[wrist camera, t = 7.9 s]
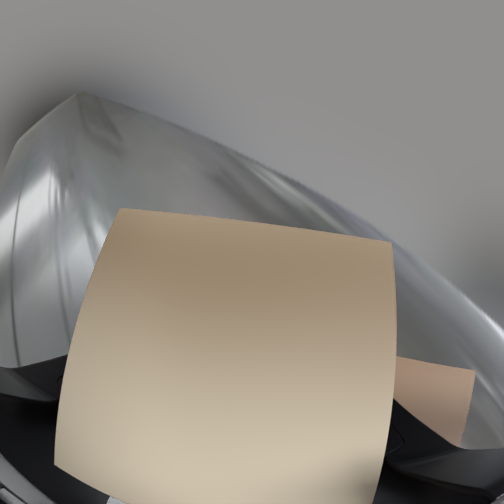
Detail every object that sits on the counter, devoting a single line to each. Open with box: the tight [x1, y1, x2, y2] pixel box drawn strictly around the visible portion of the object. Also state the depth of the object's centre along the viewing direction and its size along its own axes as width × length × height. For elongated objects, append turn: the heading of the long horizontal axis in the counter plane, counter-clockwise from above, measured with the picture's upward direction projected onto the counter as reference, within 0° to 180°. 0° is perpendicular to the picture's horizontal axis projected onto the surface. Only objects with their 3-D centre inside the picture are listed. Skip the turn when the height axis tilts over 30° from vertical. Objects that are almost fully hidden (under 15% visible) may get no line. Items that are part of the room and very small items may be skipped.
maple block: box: [54, 208, 397, 504], centre depth 7 cm, size 4×4×10 cm
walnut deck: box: [393, 356, 476, 447], centre depth 10 cm, size 8×7×3 cm
